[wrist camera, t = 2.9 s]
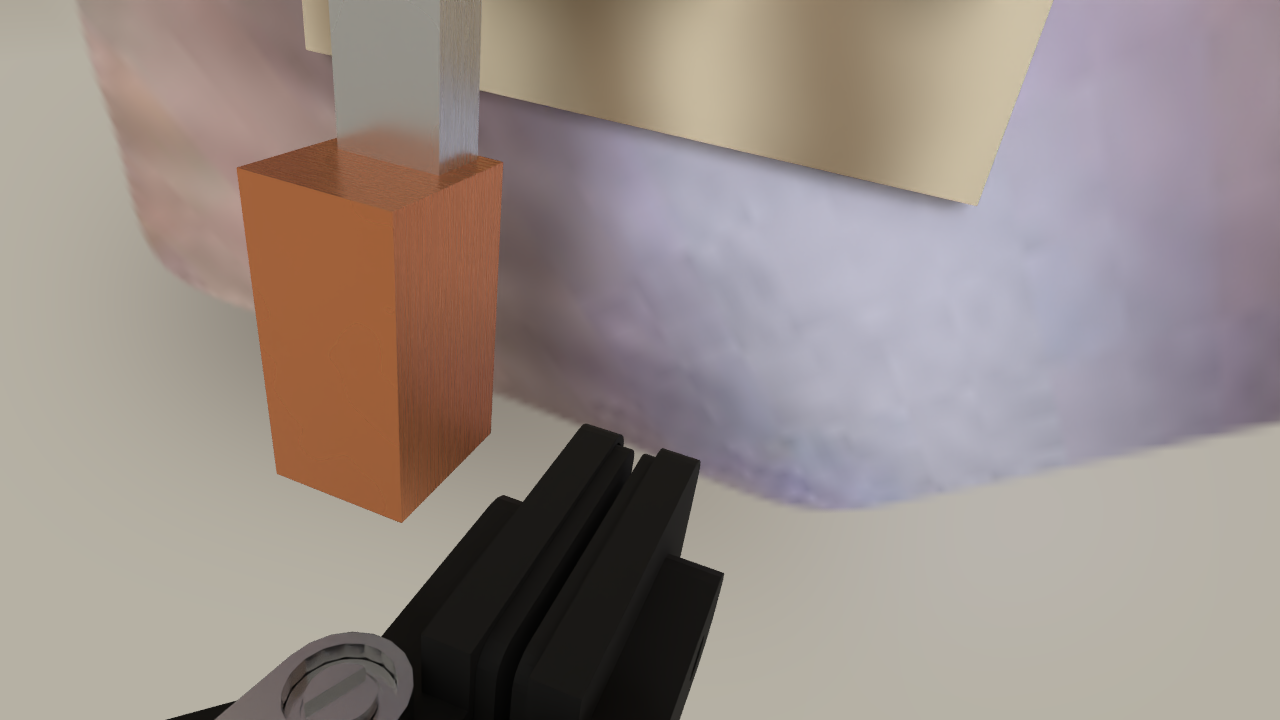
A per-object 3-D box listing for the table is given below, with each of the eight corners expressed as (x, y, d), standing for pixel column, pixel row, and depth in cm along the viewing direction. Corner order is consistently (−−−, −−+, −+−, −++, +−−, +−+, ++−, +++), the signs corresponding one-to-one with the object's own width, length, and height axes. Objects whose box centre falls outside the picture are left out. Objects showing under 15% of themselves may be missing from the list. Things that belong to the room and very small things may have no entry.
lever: (330, -532, 10) (106, -701, 8) (549, -529, 9) (385, -717, 7) (373, 391, 18) (268, 470, 15) (498, 435, 17) (411, 526, 14)
